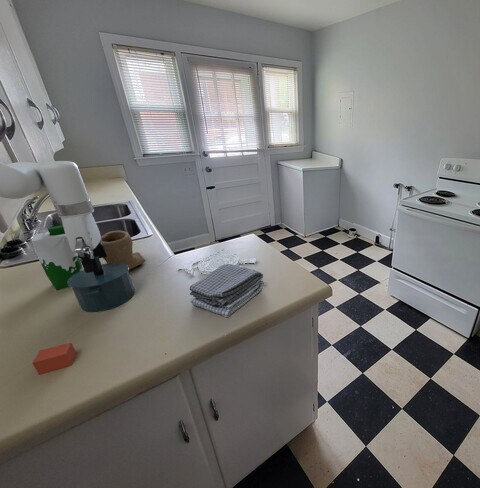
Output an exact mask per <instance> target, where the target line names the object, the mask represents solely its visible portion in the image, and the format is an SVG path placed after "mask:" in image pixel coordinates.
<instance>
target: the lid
mask: <svg viewBox="0 0 480 488" xmlns="http://www.w3.org/2000/svg"><path fill="white" fill-rule="evenodd" d="M93 257H95V258H96V260H97V263H98V265H99V268H100V270H99V271H95V272H90V273H86V272H85V270H84V269H83V270H82V271H80V272H78V273H76V274H74V275H73V276H71V277H70V278H69V279H68V281H67V284H68V286H70V287H69V288H71V289H72V288H91V287H96V286H100V285H104V284H107V283H110V282H112V281H115V280H117V279H119V278H121V277H122V276H124V275H125V274H126V273H127V272H128V271H129V272H130V270H129V266H128V265H127V264H124V263H101V258H99V257H98V256H93Z"/></svg>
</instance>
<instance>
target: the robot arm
mask: <svg viewBox="0 0 480 488" xmlns="http://www.w3.org/2000/svg"><path fill="white" fill-rule="evenodd" d="M44 190H46V192H47V194H48V196H49V198H50V200H51V203H52V205H53V207H54V209H55V212H56V215H57V216H58V218H60V219H61V223H62V225H63V227H64V231H65V234H66V237H67V239H68V242H69V245H70V247H71V250H72V252H74V253H77V254H78V257H79V260H80V261H81V264H82V268H83V270H85V272H86V273H90V272H95V271H99V270H100V268H99V265H98V263H97V260H96V258H95V257H93V256H98V257H99V259H103V258H105V257H107V254H106V251H105V248H104V246H103V245H102V244H103V243H102V241H101V236H102V235H101V232H100V230H99V226H98V225H97V223H96V220H95V218H94V216H93V215H94V214H93V213H94V212H95V209H94V206H93V203H92V201H91V198H90V196H89V193H88V191H87V188H86V185H85V182H84V180H83V177H82V174H81V172H80V169H79V167H78V165H77V164H76V163H75V162H74V161H72V160H71V161H70V160H54V161H45V162H32V161H17V162H12V163H11V162H10V163H6V164H5V163H4V162H2V161H0V198H4V199H8V200H9V199H10V200H16V199H17V200H18V199H24V198H26V197H28V196H30V195H32V194H35V193H37V192H40V191H44Z"/></svg>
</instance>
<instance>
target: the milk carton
mask: <svg viewBox="0 0 480 488" xmlns="http://www.w3.org/2000/svg"><path fill="white" fill-rule="evenodd" d="M31 243H32V245H33V250H34V251H35V254H36V256H37V259H38V260H39V262H40V265H41V267H42V269H43V271H44V273H45V275H46V277H47V279H48V280H49V282H50V283H51V285H52V286H53V288H54V289H55V290H56V291H59V290H63V289H66V288H71V287H70V286H68V284H67V281H68V279H69V278H70V277H71V276H73V275H74V274H76V273H78V272H80V271H82V270H84V268H83V266H82V263H81V261H80V260H79V257H78V254H77V253H74V252H72V250H71V247H70V245H69V242H68V239H67V237H66V234H65V231H64V227H63V224H59V225H53V226H50V227H48V228H47V231H44V232H40V233H36V234H35V233H34V235H33V237H32V239H31Z"/></svg>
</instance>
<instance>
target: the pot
mask: <svg viewBox="0 0 480 488" xmlns="http://www.w3.org/2000/svg"><path fill="white" fill-rule="evenodd" d="M71 289H72V291H73V294H74V296H75V298H76V300H77V303H78V305H79V307H80V309H81V311H83V312H86V313H98V312H105V311H108V310H111V309H115V308H117V307H119V306H121V305H123V304H125V303H127V302H128V301H129V300H131V299H132V298H133V297H134V295H135V293H136V291H135V290H136V289H135V286H134V284H133V281H132V277H131V274H130V270H129V271H128V272H127V273H126V274H125V275H124V276H122V277H121V278H119V279H117V280H115V281H112V282H110V283H107V284H104V285H100V286H96V287H91V288H72V287H71Z"/></svg>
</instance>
